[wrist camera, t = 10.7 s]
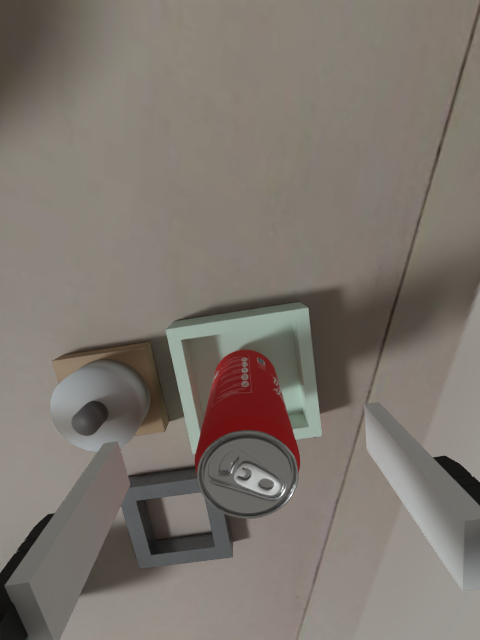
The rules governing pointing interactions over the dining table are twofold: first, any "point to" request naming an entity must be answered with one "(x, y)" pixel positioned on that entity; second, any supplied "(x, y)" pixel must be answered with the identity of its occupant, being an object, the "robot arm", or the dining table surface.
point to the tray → (247, 334)
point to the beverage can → (246, 440)
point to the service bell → (108, 396)
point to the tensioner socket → (174, 548)
